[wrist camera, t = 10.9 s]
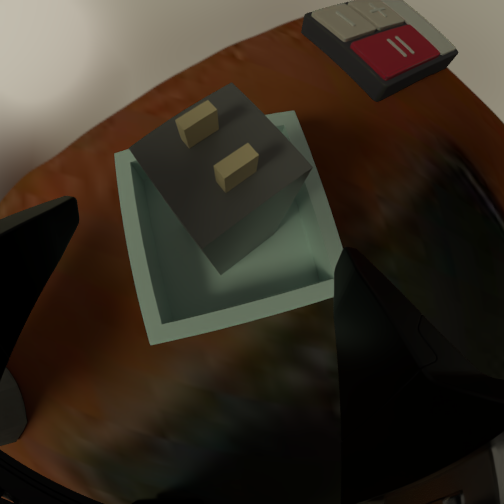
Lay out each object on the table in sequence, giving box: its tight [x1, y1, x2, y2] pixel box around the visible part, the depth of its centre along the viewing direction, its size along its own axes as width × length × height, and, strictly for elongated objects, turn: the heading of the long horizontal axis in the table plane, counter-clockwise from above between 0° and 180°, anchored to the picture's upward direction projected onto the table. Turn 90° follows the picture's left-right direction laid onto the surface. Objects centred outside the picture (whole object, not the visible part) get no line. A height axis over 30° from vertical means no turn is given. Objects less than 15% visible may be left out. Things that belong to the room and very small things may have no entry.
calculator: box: [301, 0, 458, 102], centre depth 23 cm, size 11×4×15 cm
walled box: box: [114, 111, 343, 345], centre depth 19 cm, size 12×12×4 cm
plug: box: [129, 83, 313, 275], centre depth 14 cm, size 4×4×12 cm
